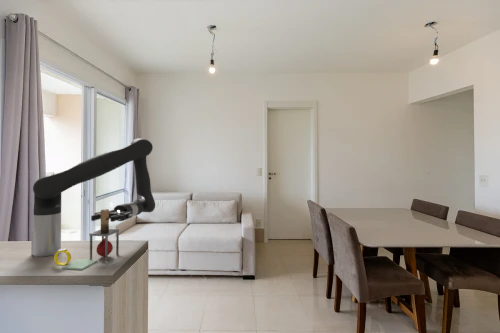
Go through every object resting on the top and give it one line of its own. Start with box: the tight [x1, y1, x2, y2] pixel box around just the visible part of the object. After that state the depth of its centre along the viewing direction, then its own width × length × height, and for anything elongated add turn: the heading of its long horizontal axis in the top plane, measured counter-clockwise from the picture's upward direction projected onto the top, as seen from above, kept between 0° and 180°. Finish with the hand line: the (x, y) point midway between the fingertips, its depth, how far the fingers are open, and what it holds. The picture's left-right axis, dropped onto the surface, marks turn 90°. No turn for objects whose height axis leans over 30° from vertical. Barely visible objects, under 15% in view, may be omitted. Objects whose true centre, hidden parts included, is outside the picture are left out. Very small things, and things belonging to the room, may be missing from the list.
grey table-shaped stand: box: [89, 208, 120, 262], centre depth 103 cm, size 8×8×20 cm
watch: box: [53, 247, 72, 266], centre depth 95 cm, size 6×3×6 cm, turn 85°
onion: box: [96, 237, 114, 258], centre depth 103 cm, size 6×6×8 cm
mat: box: [61, 258, 99, 271], centre depth 95 cm, size 8×8×1 cm
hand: (101, 218), depth 101 cm, fingers open, 8 cm apart
